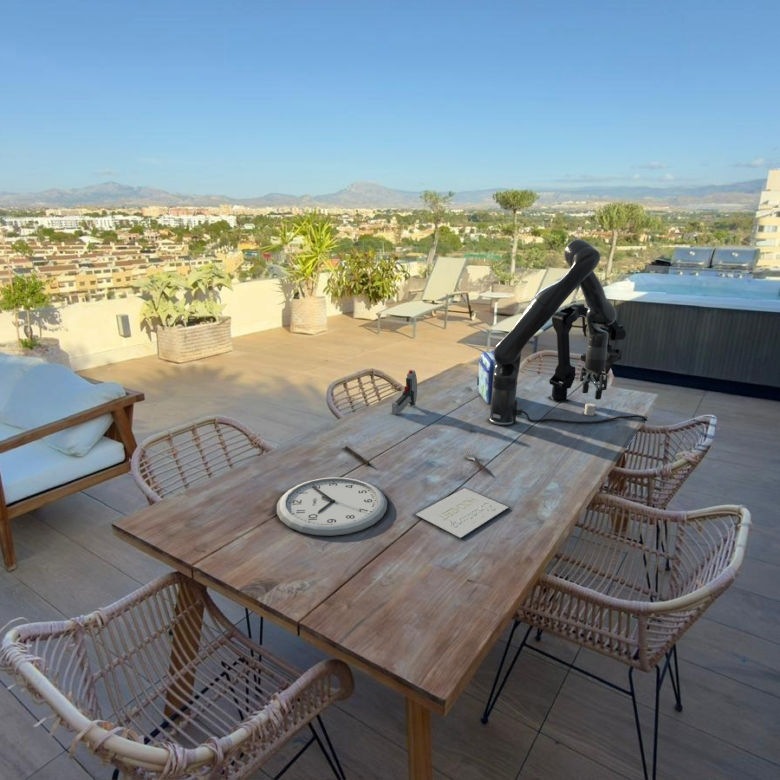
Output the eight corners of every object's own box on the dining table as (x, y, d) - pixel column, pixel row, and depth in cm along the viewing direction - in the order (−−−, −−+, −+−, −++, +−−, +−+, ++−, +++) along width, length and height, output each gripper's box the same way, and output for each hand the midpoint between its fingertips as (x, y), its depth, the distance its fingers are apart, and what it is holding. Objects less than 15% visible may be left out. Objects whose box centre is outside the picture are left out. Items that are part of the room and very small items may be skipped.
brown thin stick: (344, 448, 179) (344, 445, 179) (346, 448, 179) (346, 445, 179) (367, 464, 167) (367, 462, 167) (368, 464, 167) (368, 461, 167)
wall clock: (392, 527, 129) (268, 531, 127) (391, 533, 130) (269, 537, 127) (383, 473, 158) (282, 475, 155) (383, 478, 158) (282, 480, 156)
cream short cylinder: (595, 413, 218) (597, 404, 216) (592, 416, 215) (593, 407, 213) (586, 411, 220) (587, 402, 219) (582, 414, 217) (584, 404, 216)
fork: (483, 474, 162) (483, 469, 161) (463, 454, 176) (463, 448, 176) (491, 474, 162) (491, 468, 162) (470, 453, 177) (470, 447, 176)
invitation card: (464, 487, 153) (508, 506, 143) (464, 488, 153) (508, 507, 143) (415, 513, 138) (460, 537, 128) (415, 514, 138) (460, 538, 128)
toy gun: (391, 378, 208) (412, 368, 219) (392, 415, 214) (412, 403, 225) (395, 379, 207) (417, 369, 218) (396, 416, 212) (417, 405, 223)
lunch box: (475, 390, 246) (478, 346, 240) (498, 390, 246) (501, 347, 240) (484, 408, 221) (487, 360, 215) (509, 409, 221) (513, 360, 215)
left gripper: (616, 360, 199) (610, 400, 204) (593, 352, 213) (589, 390, 217) (598, 361, 198) (593, 402, 203) (577, 353, 211) (572, 391, 216)
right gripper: (599, 346, 226) (594, 381, 231) (632, 343, 232) (627, 377, 237) (581, 341, 236) (577, 374, 240) (614, 338, 242) (609, 371, 247)
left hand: (591, 396), depth 210 cm, fingers open, 8 cm apart
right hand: (598, 374), depth 241 cm, fingers open, 9 cm apart
